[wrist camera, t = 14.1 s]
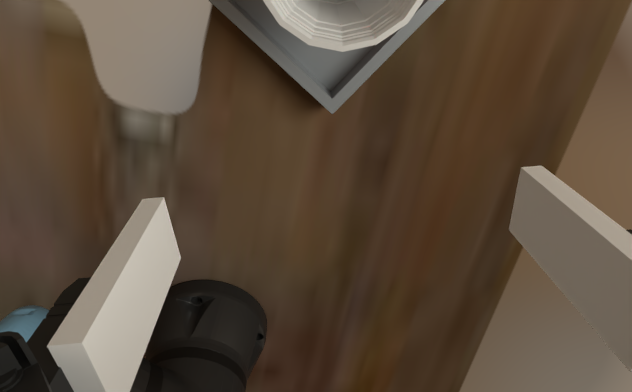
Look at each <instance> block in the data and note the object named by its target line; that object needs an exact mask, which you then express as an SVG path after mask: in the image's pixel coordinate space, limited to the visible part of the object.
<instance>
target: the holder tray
mask: <svg viewBox="0 0 632 392" xmlns="http://www.w3.org/2000/svg"><path fill="white" fill-rule="evenodd" d="M209 1H210V2H211V3H212V4H213V5H214V6H215V7H216V8H218V9H219V10H220V11H221V12H222V13H223V14H224V15H225V16H226V17H227V18H228V19H229V20H231V21H232V22H233V23H234V24H235V25H236V26H237V27H238V28H239V29H240V30H241V31H242V32H244V33H245V34H246V35H247V36H248V37H249V38H250V39H251V40H252V41H253V42H254V43H256V44H257V45H258V46H259V47H260V48H261V49H262V50H263V51H264V52H265V53H266V54H267V55H269V56H270V57H271V58H272V59H273V60H274V61H275V62H276V63H277V64H278V65H279V66H280V67H282V68H283V69H284V70H285V71H286V72H287V73H288V74H289V75H290V76H291V77H292V78H293V79H295V80H296V81H297V82H298V83H299V84H300V85H301V86H302V87H303V88H304V89H305V90H306V91H308V92H309V93H310V94H311V95H312V96H313V97H314V98H315V99H316V100H317V101H318V102H319V103H321V104H322V105H323V106H324V107H325V108H326V109H327V110H328V111H329V112H330V113H331V114H333V113H334V112H335V111H336V110H337V109H338V108H339V107H340V106H341V105H342V104H343V103H344V102H345V101H346V100H347V99H348V98H349V97H350V96H351V95H352V94H353V93H354V92H355V91H356V90H357V89H358V88H359V87H360V86H361V85H362V84H363V83H364V82H365V81H366V80H367V79H368V78H369V77H370V76H371V75H372V74H373V73H374V72H375V71H376V70H377V69H378V68H379V67H380V66H381V65H382V64H383V63H384V62H385V61H386V60H387V59H388V58H389V57H390V55H391V54H392V53H393V52H394V51H395V50H396V49H397V48H398V47H399V46H400V45H401V44H402V43H403V42H404V41H405V40H406V39H407V38H408V37H409V36H410V35H411V34H412V33H413V32H414V31H415V30H416V29H417V28H418V27H419V26H420V25H421V24H422V23H423V22H424V21H425V20H426V19H427V18H428V17H429V16H430V15H431V14H432V13H433V12H434V11H435V10H436V9H437V8H438V7H439V6H440V5H441V4H442V3H443V2H444V1H445V0H424V1H423V2H422V4H421V5H420V7H419V8H418V10H417V11H416V12H415V14H414V15H413V17H412V18H411V19H410V21H409V22H408V24H406V25H405V26H403V27H402V28H400V29H399V30H397V31H396V32H394V33H393V34H392V35H390V36H389V37H387V38H386V39H384V40H383V41H381V42H380V43H378V44H377V45H373V46H368V47H363V48H359V49H354V50H349V51H345V52H340V51H336V50H331V49H326V48H321V47H316V46H311V45H308V44H307V43H305V42H304V41H302V40H301V39H299V38H298V37H296V36H295V35H293V34H292V33H291V32H289V31H288V30H286V29H285V28H283V27H282V26H280V25H279V24H278V22H277V21H276V19H275V18H274V16H273V15H272V13H271V12H270V10H269V9H268V7H267V6H266V4H265V3H264V1H263V0H209Z"/></svg>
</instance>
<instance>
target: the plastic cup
mask: <svg viewBox="0 0 632 392" xmlns="http://www.w3.org/2000/svg"><path fill="white" fill-rule="evenodd" d="M263 1H264V3H265V4H266V6H267V7H268V9H269V10H270V12H271V13H272V15H273V16H274V18H275V19H276V21H277V22H278V24H279V25H280V26H282V27H283V28H285V29H286V30H288V31H289V32H291V33H292V34H293V35H295V36H296V37H298V38H299V39H301V40H302V41H304V42H305V43H307V44H308V45H311V46H316V47H321V48H326V49H331V50H336V51H340V52H345V51H349V50H354V49H359V48H363V47H368V46H373V45H377V44H378V43H380V42H381V41H383V40H384V39H386V38H387V37H389V36H390V35H392V34H393V33H394V32H396V31H397V30H399V29H400V28H402V27H403V26H405V25H406V24H408V22H409V21H410V19H411V18H412V17H413V15H414V14H415V12H416V11H417V10H418V8H419V7H420V5H421V4H422V2H423V1H424V0H263Z"/></svg>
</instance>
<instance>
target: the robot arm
mask: <svg viewBox="0 0 632 392" xmlns="http://www.w3.org/2000/svg"><path fill="white" fill-rule="evenodd" d="M509 231H510V232H511V233H512V234H513V235H514V236H515V238H516V239H517V240H518V241H519V242H520V243H521V245H522V246H523V247H524V248H525V249H526V250H527V252H528V253H529V254H530V255H531V256H532V258H533V259H534V260H535V261H536V262H537V263H538V265H539V266H540V267H541V268H542V269H543V270H544V272H545V273H546V274H547V275H548V276H549V277H550V279H551V280H552V281H553V282H554V283H555V284H556V286H557V287H558V288H559V289H560V290H561V291H562V293H563V294H564V295H565V296H566V297H567V299H568V300H569V301H570V302H571V303H572V304H573V306H574V307H575V308H576V309H577V310H578V311H579V313H580V314H581V315H582V316H583V317H584V318H585V320H586V321H587V322H588V323H589V324H590V325H591V327H592V328H593V329H594V330H595V331H596V332H597V334H598V335H599V336H600V337H601V338H602V340H603V341H604V342H605V343H606V344H607V345H608V347H609V348H610V349H611V350H612V351H613V352H614V354H615V355H616V356H617V357H618V358H619V359H620V361H621V362H622V363H623V364H624V365H625V366H626V368H627V369H628V370H629V371H630V372H631V371H632V230H625V229H624V228H622V227H621V226H620V225H618V224H617V223H616V222H615V221H613V220H612V219H611V218H609V217H608V216H607V215H605V214H604V213H603V212H601V211H600V210H599V209H597V208H596V207H595V206H594V205H592V204H591V203H590V202H588V201H587V200H586V199H584V198H583V197H582V196H581V195H579V194H578V193H577V192H575V191H574V190H573V189H571V188H570V187H569V186H567V185H566V184H565V183H563V182H562V181H561V180H560V179H558V178H557V177H556V176H554V175H553V174H552V173H550V172H549V171H548V170H547V169H545V168H544V167H543V166H532V167H521V170H520V176H519V181H518V186H517V191H516V196H515V201H514V206H513V211H512V216H511V221H510V226H509ZM180 259H181V256H180V253H179V249H178V246H177V242H176V239H175V235H174V232H173V228H172V224H171V221H170V217H169V214H168V210H167V207H166V203H165V199H164V197H161V198H149V199H142V201H141V202H140V204H139V205H138V207H137V208H136V210H135V212H134V213H133V215H132V216H131V218H130V219H129V221H128V222H127V224H126V225H125V227H124V228H123V230H122V231H121V233H120V235H119V236H118V238H117V239H116V241H115V242H114V244H113V245H112V247H111V248H110V250H109V251H108V253H107V254H106V256H105V258H104V259H103V261H102V262H101V264H100V265H99V267H98V268H97V270H96V271H95V273H94V274H93V276H92V277H90V278H79V279H78V280H76V281H75V282H74V283H73V284H71V285H70V286H69V287H68V288H66V289H65V290H64V291H63V292H62V294H61V295H60V296H59V298H58V299H57V301H56V302H55V303H54V307H52V308H51V309H50V310H48V309H45V308H43V307H40V306H35V305H29V306H24V307H20V308H18V309H16V310H14V311H12V312H11V313H10V314H8V315H7V316H6V317H5V318H4V319H3V320H1V321H0V392H245V390H246V383H247V380H248V378H249V376H250V374H251V372H252V370H253V368H254V366H255V364H256V362H257V360H258V358H259V356H260V354H261V352H262V350H263V348H264V345H265V341H266V332H267V319H266V315H265V313H264V310H263V309H262V307H261V306H260V304H259V303H258V302H257V301H256V300H255V299H254V298H253V297H252V296H251V295H250V294H248V293H247V292H245V291H243V290H242V289H240V288H238V287H235V286H233V285H230V284H227V283H223V282H219V281H212V280H195V281H188V282H184V283H181V284H178V285H175V286H173V287H171V288H170V285H171V283H172V280H173V278H174V275H175V272H176V270H177V267H178V264H179V262H180ZM145 351H146V359H145V358H143V356H144V353H145Z"/></svg>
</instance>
